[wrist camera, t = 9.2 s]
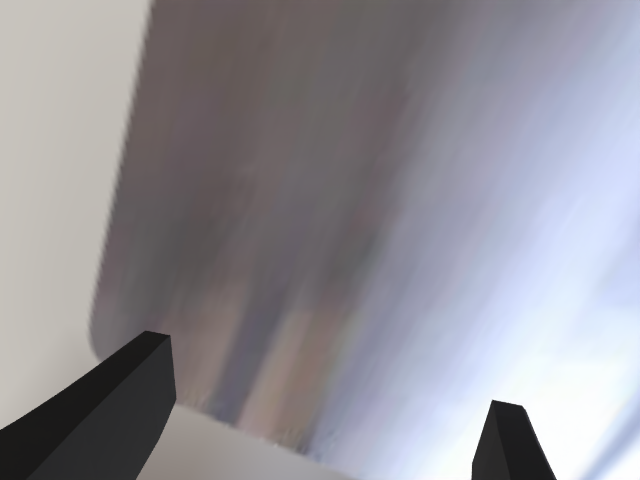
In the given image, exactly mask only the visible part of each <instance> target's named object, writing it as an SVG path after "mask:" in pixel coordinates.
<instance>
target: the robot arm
mask: <svg viewBox="0 0 640 480" xmlns="http://www.w3.org/2000/svg"><path fill="white" fill-rule="evenodd" d="M175 401H176V389H175V379H174V368H173V358H172V348H171V338H170V335H165V334H160V333H155V332H150V331H144V332H143V333H141V334H140V335H139V336H137V337H136V338H134V339H133V340H132V341H130V342H129V343H127V344H126V345H125V346H123V347H122V348H121V349H119V350H118V351H117V352H115V353H114V354H113V355H111V356H110V357H109V358H107V359H106V360H104V361H103V362H102V363H100V364H99V365H98V366H96V367H95V368H94V369H92V370H91V371H89V372H88V373H87V374H85V375H84V376H83V377H81V378H80V379H78V380H77V381H75V382H74V383H72V384H71V385H70V386H68V387H67V388H66V389H64V390H62V391H61V392H60V393H58V394H57V395H55V396H54V397H52V398H50V399H49V400H47V401H46V402H44V403H43V404H41V405H40V406H38V407H37V408H35V409H34V410H32V411H31V412H29V413H27V414H26V415H24V416H23V417H21V418H20V419H18V420H16V421H15V422H13V423H11V424H10V425H8V426H6V427H4V428H3V429H1V430H0V480H136V478H137V476H138V475H139V473H140V471H141V470H142V468H143V466H144V464H145V463H146V461H147V459H148V458H149V456H150V454H151V452H152V451H153V449H154V447H155V445H156V444H157V442H158V440H159V438H160V436H161V434H162V431H163V429H164V427H165V425H166V423H167V420H168V418H169V415H170V413H171V411H172V408H173V406H174V404H175ZM471 480H557V479H556V477H555V475H554V473H553V471H552V469H551V467H550V465H549V463H548V461H547V459H546V456H545V454H544V452H543V450H542V448H541V446H540V443H539V441H538V439H537V436H536V434H535V432H534V429H533V427H532V425H531V422H530V420H529V417H528V415H527V412H526V410H525V409H524V408H523V406H521V405H516V404H511V403H506V402H501V401H496V400H492V402H491V405H490V408H489V412H488V415H487V418H486V421H485V424H484V427H483V431H482V434H481V437H480V440H479V443H478V446H477V450H476V453H475V456H474V459H473V462H472V479H471Z"/></svg>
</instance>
